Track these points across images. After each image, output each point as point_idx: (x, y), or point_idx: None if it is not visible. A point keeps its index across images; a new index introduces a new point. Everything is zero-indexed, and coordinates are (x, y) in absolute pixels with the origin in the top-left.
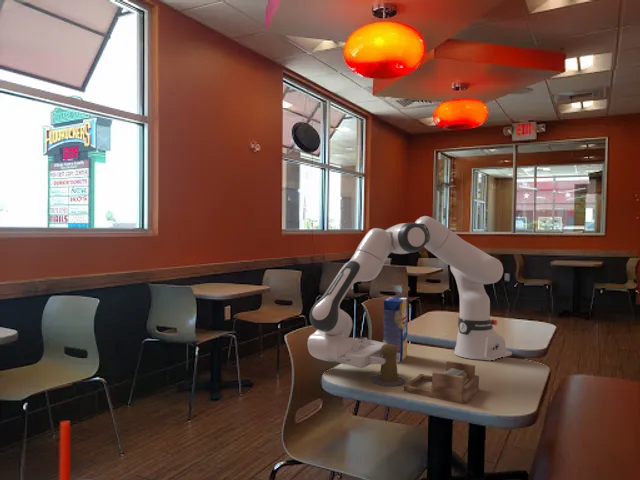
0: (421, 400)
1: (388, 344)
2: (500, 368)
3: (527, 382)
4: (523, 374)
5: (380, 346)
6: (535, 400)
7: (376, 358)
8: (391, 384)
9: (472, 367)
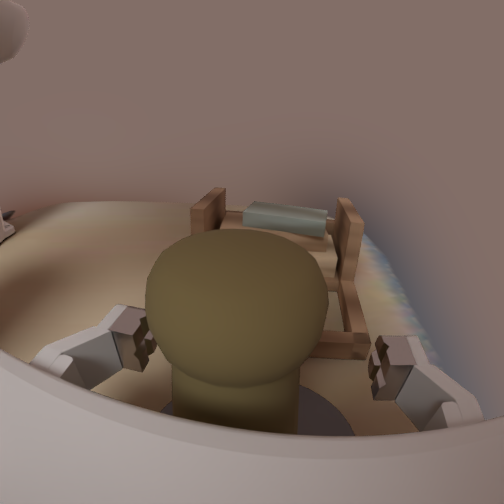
0: (396, 307)
1: (237, 249)
2: (60, 225)
3: (147, 208)
4: (100, 211)
5: (30, 396)
6: (245, 206)
7: (443, 377)
8: (327, 414)
9: (224, 192)
